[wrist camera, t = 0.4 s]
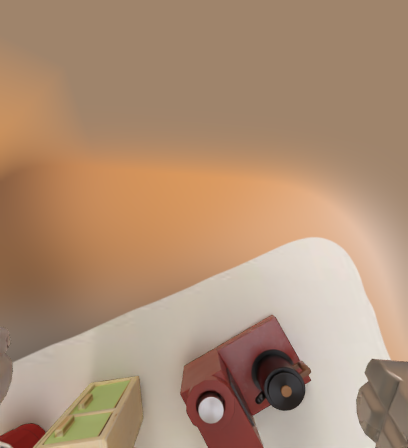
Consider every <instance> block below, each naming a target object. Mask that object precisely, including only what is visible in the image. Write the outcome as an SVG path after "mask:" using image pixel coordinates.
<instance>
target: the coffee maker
mask: <svg viewBox="0 0 408 448" xmlns="http://www.w3.org/2000/svg"><path fill="white" fill-rule="evenodd" d="M207 392H215V393H217V394H218V395H219V396H220V397H221V399H222V401H223V407H224V413H223V416H222V418H221V419H220V420H219V421H218V422H216V423H206V422H204V421H203V420H202V419H201V418H200V416H199V412H198V403H199V399H200V397H201V396H202V395H203V394H205V393H207ZM180 395H181V397H182V399H183V401H184V402H185V404H186V412H187V414H188V416H189V418H190V420H191V422H192V423H193V425H195V426H197V427H198V429H199V431H200V433H201V435H202V436H203V438H204V440H205V442H206V444H207V446H208V448H264V447H263V444H262V442H261V439H260V436H259V433H258V430H257V427H256V424H255V422H254V424H255V426H252V424H251V422H250V420H249V418H248V417H247V415H246V413H245V411H244V409H243V407H242V406H241V404H240V402H239V400H238V398H237V396H236V395H235V393H234V391H233V389H232V387H231V385H230V382H229V378H228V374H227V371H226V366H225V364H224V362H223V361H222V359H221V357H220V355H219V353H218V351H217V348H214V349H213V350H211V351H209V352H207V353H206V354H204V355H202V356H201V357H199V358H197V359H195V360H194V361H192V362H190V363H189V364H187V365H185V366H184V371H183V378H182V385H181V392H180ZM250 413H251V412H250ZM251 416H252V414H251ZM252 418H253V416H252ZM253 421H254V419H253Z"/></svg>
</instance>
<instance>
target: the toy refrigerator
mask: <svg viewBox="0 0 408 448" xmlns="http://www.w3.org/2000/svg"><path fill="white" fill-rule="evenodd" d="M142 420H143V409H142V400H141V391H140V382H139V376H134V377H127V378H120V379H114V380H107V381H100V382H93V383H90V384H89V385H88V387H87V388H86V389H85V390H84V391H83V392H82V393H81V395H80V396H79V397H78V398H77V399H76V400H75V401H74V402H73V404H72V405H71V406H70V407H69V408H68V409H67V410H66V411H65V412H64V414H63V415H62V416H61V417H60V418H59V419H58V420H57V421H56V422H55V423H54V425H53V426H52V427H51V428H50V429H49V430H48V431H47V432H46V434H45V435H44V436H43V437H42V438H41V439H40V440H39V441H38V442H37V444H36V445H35V446H34V447H33V448H133V447H134V444H135V441H136V438H137V435H138V432H139V429H140V426H141V423H142Z"/></svg>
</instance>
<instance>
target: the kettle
mask: <svg viewBox="0 0 408 448" xmlns="http://www.w3.org/2000/svg"><path fill="white" fill-rule="evenodd" d="M299 368H301V369H302V370H303V371H301V372H299V373H298V372H297V371H296V370H297V369H299ZM310 373H311V370H310V368H309V367H308V366H307V365H306V364H304V363H303V362H302V361H298V362H297V363H295V364H293V365H291V364H290V363H289V362H288V361H287V360H286V359H285V358H284V357H283V356H281V355H278V354H269V355H266V356H264V357H263V358H262V359H261V360H260V361H259V362H258V364H257V367H256V378H257V381H258V383H259V385H260V387H261V389H262V391H261V392H260V393H259V394H258V396H257V397H256V398H255V402H256V403H257V404H261V403H262V402H263V401H264V400H265V398H266V399H267V401H268V402H269V404H270V405H272V406H273V407H274V408H276V409H278V410H283V411H287V410H291V409H294V408H296V407H297V406H298V405H299V404H300V403H301V402H302V400H303V398H304V395H305V383H304V380H303V378H304V377H306V376H308V375H309V374H310Z"/></svg>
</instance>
